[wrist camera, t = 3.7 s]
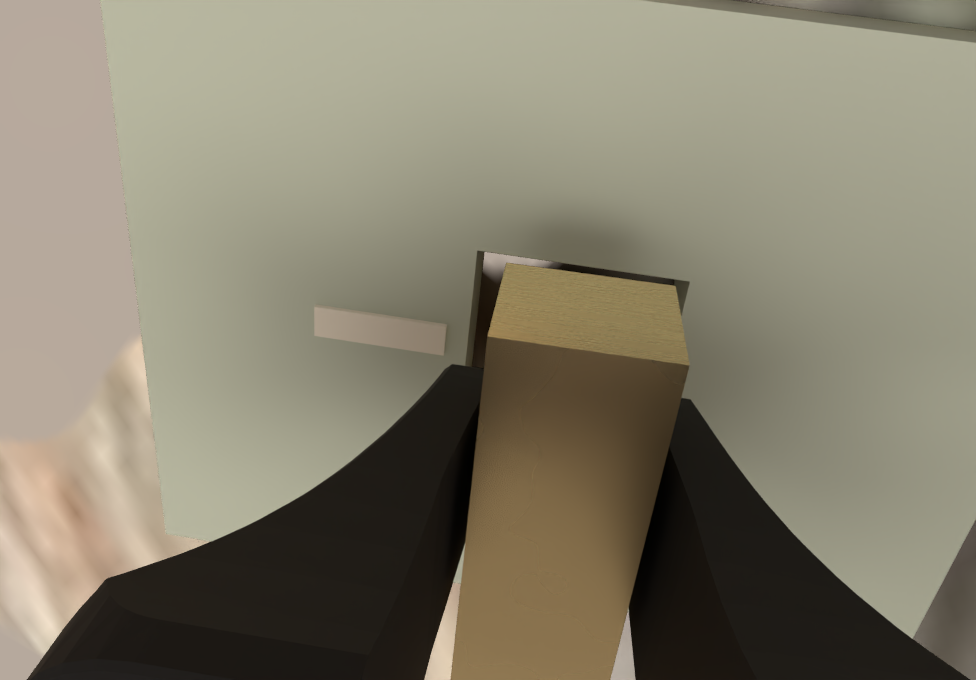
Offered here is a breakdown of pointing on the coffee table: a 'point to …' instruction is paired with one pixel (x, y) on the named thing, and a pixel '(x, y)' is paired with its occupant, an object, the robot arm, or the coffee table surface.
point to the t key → (565, 470)
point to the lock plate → (560, 237)
